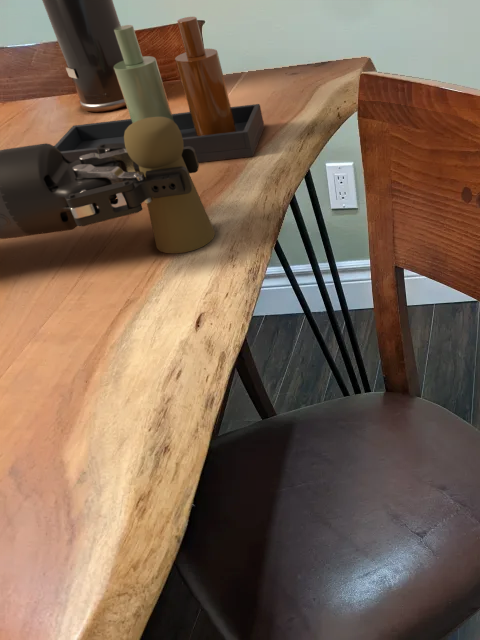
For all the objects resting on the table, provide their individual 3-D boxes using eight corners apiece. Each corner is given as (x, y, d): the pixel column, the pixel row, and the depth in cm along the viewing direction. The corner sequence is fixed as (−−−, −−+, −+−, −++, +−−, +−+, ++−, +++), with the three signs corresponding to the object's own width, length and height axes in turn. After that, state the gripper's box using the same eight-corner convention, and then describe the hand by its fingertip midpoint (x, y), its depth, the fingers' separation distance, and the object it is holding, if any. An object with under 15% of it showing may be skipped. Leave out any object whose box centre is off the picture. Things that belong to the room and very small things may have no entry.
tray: (55, 178, 86) (45, 154, 84) (82, 147, 93) (73, 125, 91) (253, 156, 84) (247, 131, 82) (264, 127, 91) (259, 103, 89)
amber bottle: (204, 131, 89) (172, 15, 80) (241, 128, 88) (213, 11, 79) (193, 146, 86) (158, 27, 77) (231, 143, 85) (201, 22, 76)
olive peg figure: (181, 222, 73) (144, 107, 65) (226, 228, 70) (194, 110, 62) (143, 249, 69) (99, 131, 61) (190, 256, 67) (150, 135, 59)
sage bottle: (148, 138, 90) (111, 23, 81) (184, 135, 89) (151, 19, 80) (135, 152, 86) (94, 35, 77) (172, 149, 86) (136, 31, 77)
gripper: (-31, 183, 58) (169, 154, 57) (19, 125, 68) (190, 100, 67) (13, 266, 63) (196, 241, 63) (54, 201, 73) (212, 179, 73)
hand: (192, 168), depth 65 cm, fingers open, 4 cm apart
